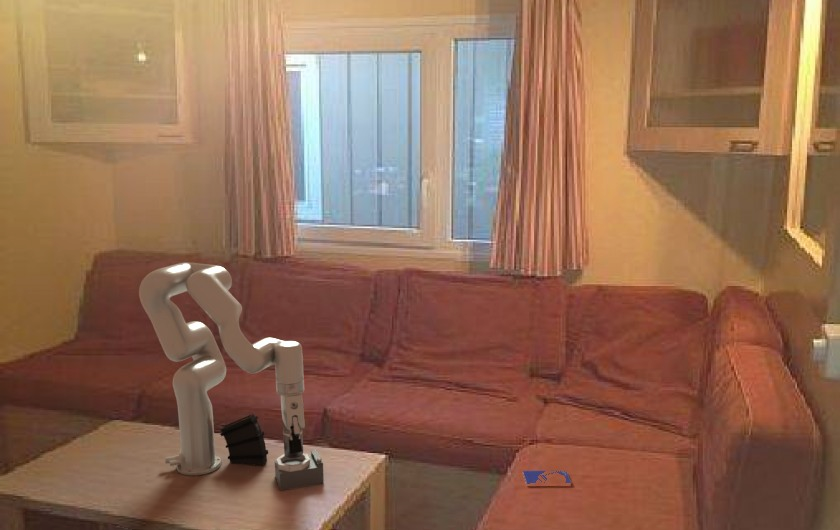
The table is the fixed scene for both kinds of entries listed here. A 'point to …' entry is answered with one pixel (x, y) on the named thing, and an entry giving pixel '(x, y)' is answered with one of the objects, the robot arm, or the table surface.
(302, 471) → the camera body
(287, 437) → the lens
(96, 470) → the table surface
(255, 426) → the black device
